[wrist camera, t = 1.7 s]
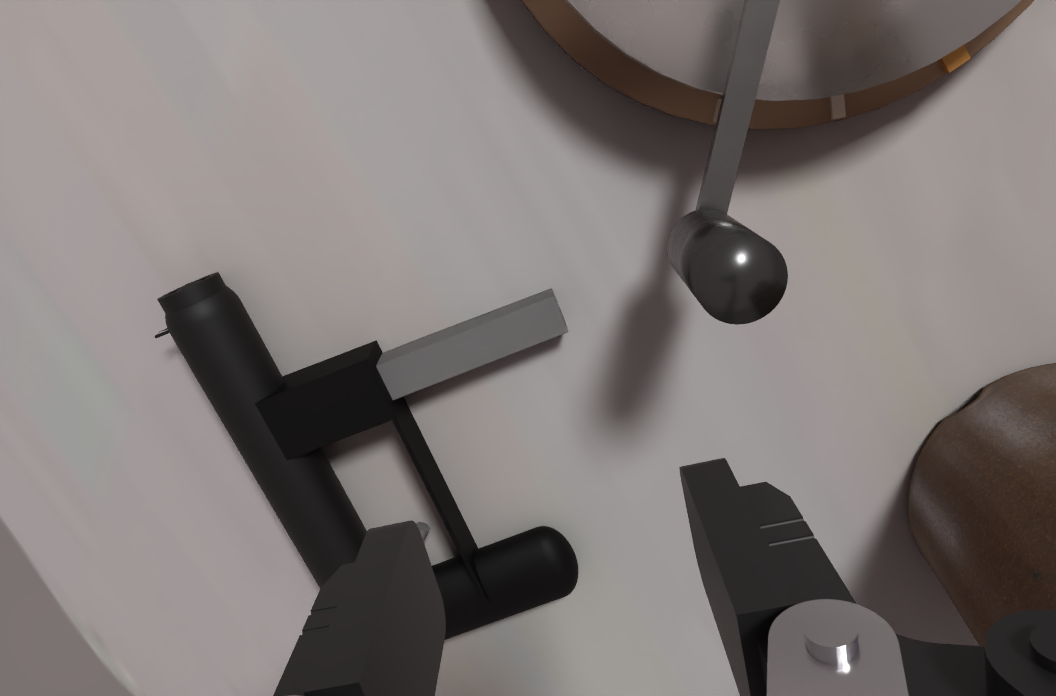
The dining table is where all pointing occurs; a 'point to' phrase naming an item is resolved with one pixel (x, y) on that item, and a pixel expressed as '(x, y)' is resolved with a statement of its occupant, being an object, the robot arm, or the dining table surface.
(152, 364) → the dining table surface
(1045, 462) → the plant pot
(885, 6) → the dial
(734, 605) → the robot arm
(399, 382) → the door handle
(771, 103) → the dial base
